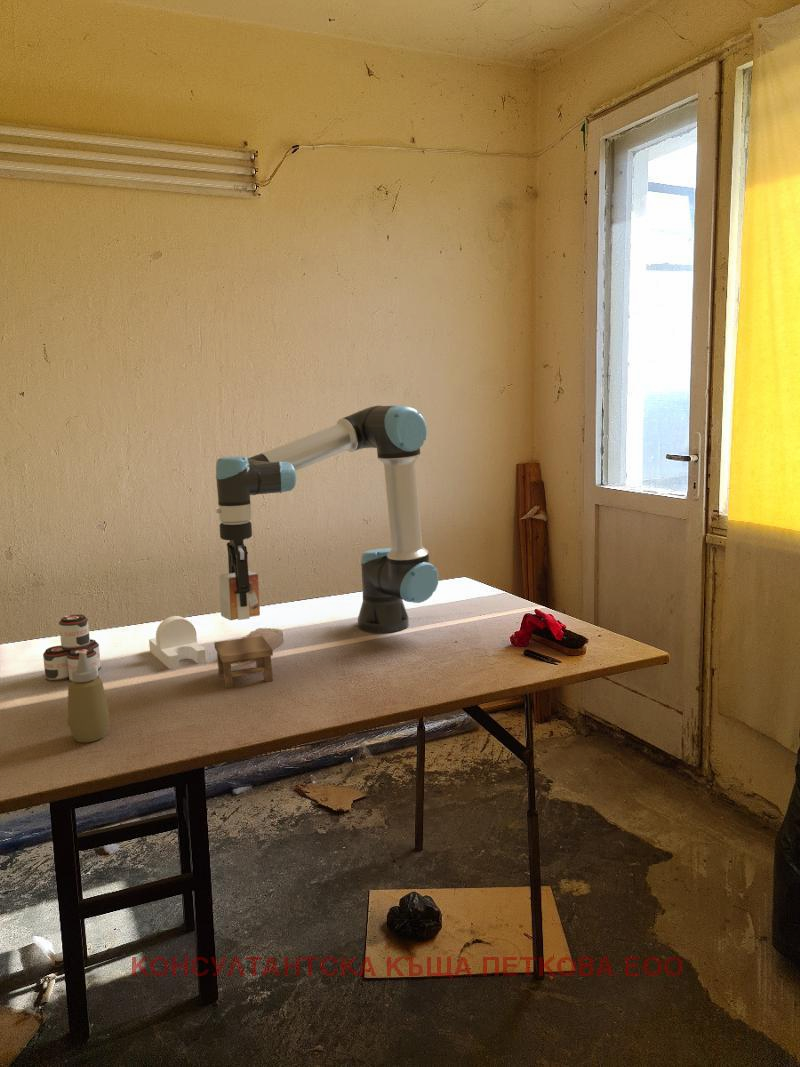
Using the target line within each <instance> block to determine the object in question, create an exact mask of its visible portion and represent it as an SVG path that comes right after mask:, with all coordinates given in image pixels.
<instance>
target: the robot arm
mask: <svg viewBox="0 0 800 1067" xmlns="http://www.w3.org/2000/svg"><path fill="white" fill-rule="evenodd" d="M427 435H428V427H427V423H426V420H425V418H424V416H423V415H422V414H421V412H419V411H418V410H417V409H415V408H413V407H411V406H407V405H406V406H405V405H403V404H402V405H400V404H399V405H398V404H397V405H374V406H369V407H367V408H364V409H361V410H359V411H356V412H355V413H352V414H349V415H347V416H345V417H342V418H340V419H338V420H337V422H336V424H334V425H330V426H329V427H327V428H324V429H321V430H318V431H316V432H312V433H311V434H308V435H305V436H303V437H301V438H298V439H295V440H292V441H291V442H287V443H285V444H281V445H279V446H277V447H274V448H271V449H269V450H266V451H264V452H261V453H259V454H256V455H253V456H250V457H248V458H247V457H246V456H242V455H239V456H236V455H235V456H223V457H219V458H218V459H217V460H216V462H215V465H216V466H215V480H216V490H217V491H216V492H217V503H218V509H216V510H215V512H216V514H218V520H219V522H220V523H219V537H220V539H222V541H223V540H224V541H227V542H226V548H227V561H228V562H227V563H228V574H229V573H235V576H236V585H237V591H235V592H234V594H236V598H237V615H238V619H237V620H238V621H241V620H249V619H250V618H251V617H250V616H249V599H248V592H250V588H249V574H248V570H249V563H248V549H247V546H246V545H245V543H244V540H248V539H250V538H252V537H253V530H252V528H253V527H252V525H253V524H252V522H251V520H252V507H251V496H256V495H268V494H277V493H279V494H282V493H285V492H291V491H292V490H293V489H294V488H295V486H296V483H297V473H296V471H298V470H301V469H303V468H305V467H309V466H311V465H314V464H315V463H318V462H321V461H323V460H325V459H329V458H330V457H333V456H336V455H338V454H341V453H343V452H346V451H348V452H350V453H353V452H355V451H358V450H362V449H369V448H370V449H371V448H372V449H376V452H377V459H378V460H379V461H380V462H381V463H382V464H383V470H384V478H385V488H386V489H385V490H386V499H387V500H386V501H387V502H386V503H387V512H388V521H389V534H390V543H391V545H390V546H391V547H384V548H377V549H369V550H366V551H364V552H363V553H362V555H361V563H360V566H361V582H362V584H361V585H362V586H361V587H362V588H361V589H362V602H361V605H360V609H359V613H358V616H357V627H358V629H359V630H362V631H365V632H369V633H378V634H379V633H380V634H381V633H393V632H398V631H401V630H402V631H403V630H405V629H406V628H408V627H409V625H410V622H409V620H410V619H409V616H408V612H407V609H406V606H405V603H404V602H408V603H414V604H420V603H423V602H426V601H427V600H429V599H430V598H431V597H432V596H433V594H434V592H436V590H437V588H438V585H439V581H440V580H439V579H440V578H439V571H438V569H437V567H436V566H434V565H433V564H432V563H431V562H430V556H429V554H430V553H429V550H428V549H426V548H425V547H424V546H423V537H422V536H423V535H422V523H421V514H420V511H421V510H420V502H419V499H420V498H419V490H418V489H419V488H418V477H417V475H418V474H417V464H416V463H417V462H416V461H417V459H418V458H419V457H420V456H421V447H422V446H423V445H424V443H425V441H426V440H427ZM228 541H229V542H228Z"/></svg>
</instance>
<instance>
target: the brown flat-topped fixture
mask: <svg viewBox="0 0 800 1067" xmlns="http://www.w3.org/2000/svg"><path fill="white" fill-rule="evenodd" d="M214 649H215V651H216V654H217V655H216V657H217V658H216V660H217V671H218V672H217V673H218V675H219V676H223V679H224V681H223V682H224V687H225V688H226V689H228V688H233V678H235V677H239V676H247V675H253V674H259V673H260V674H261V673H263V678H264V679H263V680H264V682H267V683H269V682H272V681H273V673H272V672H273V671H272V669H273V668H272V656H273V655H274V653H273V652H274V650H272V648H271V647H270V646H269V644H268V643H267V642H266V640H265V639H264V638H263V636H258V637H251V638H243V639H241V638H237V639H230V640H222V641H214ZM255 660H256V661H255ZM253 661H255V666H256V667H250V668H243V669H236V670H232V665H233V664H238V663H245V662H246V663H247V662H253Z"/></svg>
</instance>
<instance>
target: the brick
mask: <svg viewBox="0 0 800 1067" xmlns="http://www.w3.org/2000/svg"><path fill="white" fill-rule="evenodd" d="M258 636H263V638H264V639H265V640H266V642H267V643H268V644H269V646H270V647H271V648H272V650H273V651H274V650H276V649H277V648H279V647H281V645H283V644H284V643H285V639H284V633H283V630H282V629H279V628H269V627H268V628H267V627H264V628H263V627H260V628H259V627H258V628H256V629H255V630H253V631H251V632H249V633H248V634H247V635H246V636H243V637H241V638H240V639H243V638H251V637H258ZM254 661H255V662H256V660H254Z"/></svg>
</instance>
